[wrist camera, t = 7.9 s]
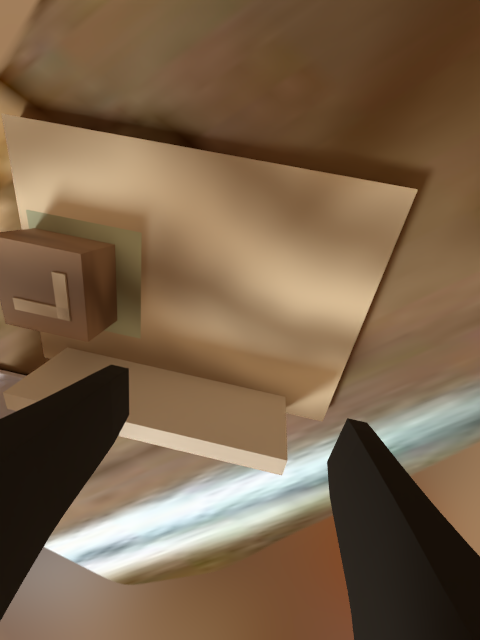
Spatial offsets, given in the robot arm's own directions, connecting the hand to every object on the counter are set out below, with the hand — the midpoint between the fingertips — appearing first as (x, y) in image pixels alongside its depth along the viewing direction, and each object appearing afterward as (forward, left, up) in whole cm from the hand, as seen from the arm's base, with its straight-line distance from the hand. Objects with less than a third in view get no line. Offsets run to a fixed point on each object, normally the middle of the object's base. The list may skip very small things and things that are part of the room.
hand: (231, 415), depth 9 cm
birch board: (+1, +4, -9) cm, 10 cm away
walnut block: (0, +11, -8) cm, 14 cm away
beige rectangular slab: (-6, +5, -8) cm, 11 cm away
